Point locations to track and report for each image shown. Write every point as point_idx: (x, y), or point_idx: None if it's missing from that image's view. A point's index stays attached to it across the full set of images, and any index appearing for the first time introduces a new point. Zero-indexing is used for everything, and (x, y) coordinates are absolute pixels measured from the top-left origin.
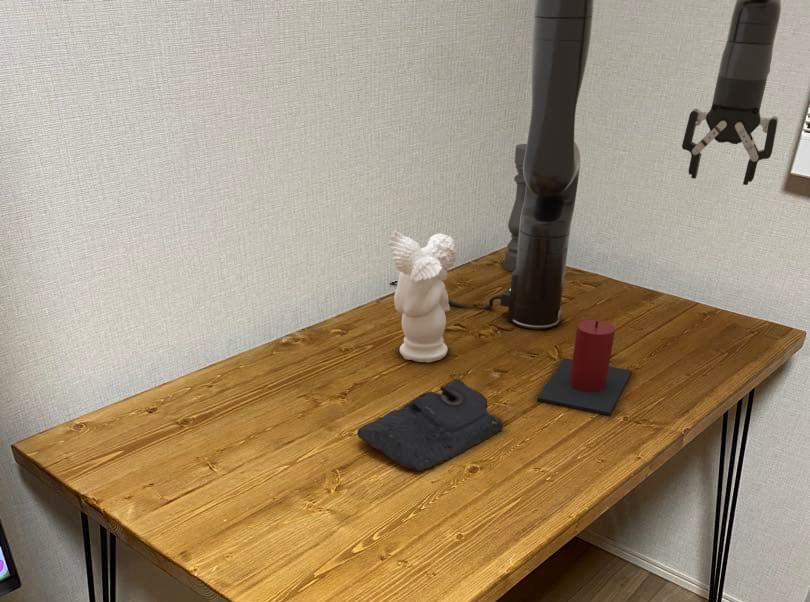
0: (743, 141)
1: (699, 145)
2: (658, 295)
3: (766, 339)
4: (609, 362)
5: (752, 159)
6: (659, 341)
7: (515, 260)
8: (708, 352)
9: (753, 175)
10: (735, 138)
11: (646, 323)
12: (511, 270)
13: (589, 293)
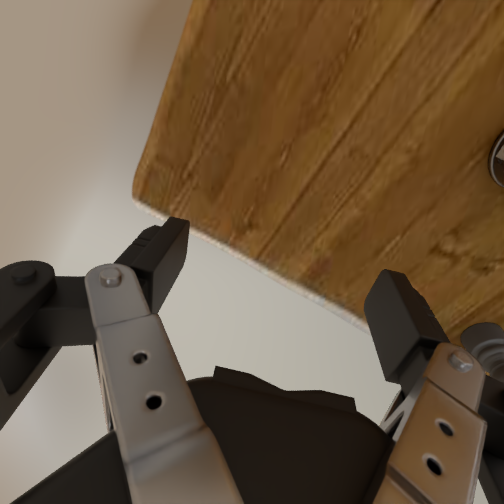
0: (164, 362)
1: (462, 390)
2: (304, 277)
3: (170, 153)
4: None
5: (126, 273)
6: (330, 106)
7: (502, 335)
8: (256, 76)
9: (139, 236)
10: (229, 406)
11: (338, 178)
12: (497, 325)
13: (401, 270)
